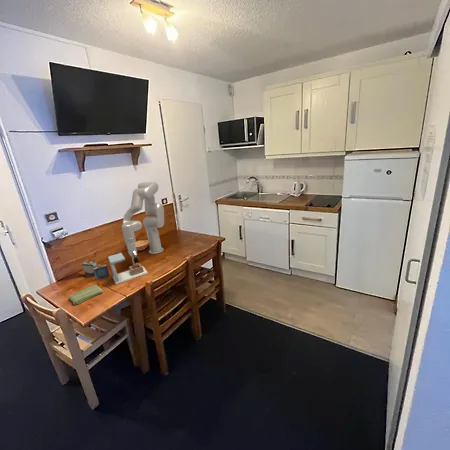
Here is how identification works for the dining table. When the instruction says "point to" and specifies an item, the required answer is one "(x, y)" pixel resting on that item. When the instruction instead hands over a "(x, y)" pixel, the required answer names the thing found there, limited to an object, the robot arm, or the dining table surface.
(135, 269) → the socket station
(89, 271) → the food container
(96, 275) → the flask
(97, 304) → the dining table surface
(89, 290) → the washcloth
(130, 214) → the robot arm
